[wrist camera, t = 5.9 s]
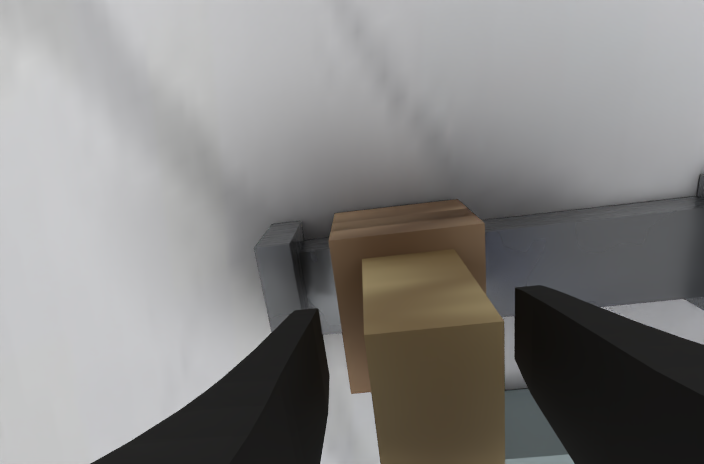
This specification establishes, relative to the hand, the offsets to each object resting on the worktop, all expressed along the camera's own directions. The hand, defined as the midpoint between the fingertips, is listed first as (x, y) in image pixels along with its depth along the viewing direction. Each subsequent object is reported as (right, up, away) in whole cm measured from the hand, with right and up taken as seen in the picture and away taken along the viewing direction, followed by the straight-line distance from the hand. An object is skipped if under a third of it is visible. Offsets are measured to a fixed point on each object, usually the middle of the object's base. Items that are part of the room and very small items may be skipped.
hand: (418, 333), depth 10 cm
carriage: (0, +1, +4) cm, 4 cm away
